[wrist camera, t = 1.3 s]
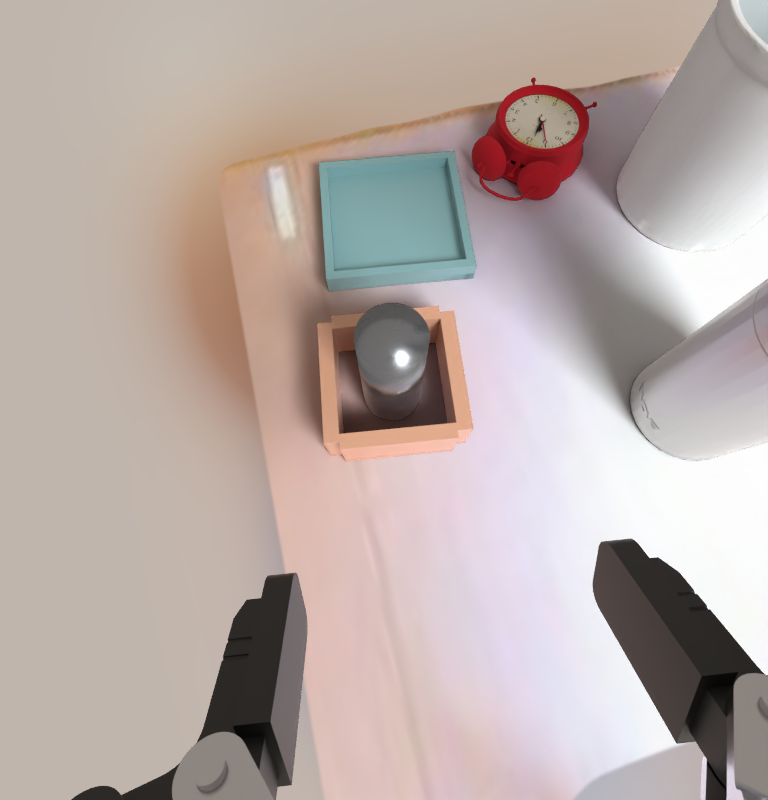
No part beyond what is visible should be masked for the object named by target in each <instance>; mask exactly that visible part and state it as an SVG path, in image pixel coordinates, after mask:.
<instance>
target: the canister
mask: <svg viewBox="0 0 768 800" xmlns="http://www.w3.org/2000/svg"><path fill="white" fill-rule="evenodd" d="M429 341H430V333H429V328H428V326H427V323H426V321H425V320H424V318H423V317H422V316H421V315H420V314H419V313H418V312H417V311H416V310H414V309H413V308H411V307H409V306H406V305H403V304H398V303H385V304H381V305H378V306H375V307H373V308H371V309H369V310H368V311H367V312H366V313H364V314H363V315H362V317H361V318H360V319H359V321H358V322H357V325H356V327H355V330H354V344H355V350H356V355H357V361H358V366H359V372H360V377H361V383H362V389H363V394H364V399H365V403H366V405H367V407H368V408H369V409H370V411H371V412H372V413H373V414H375V415H376V416H378V417H380V418H383V419H386V420H397V419H401V418H404V417H406V416H408V415H409V414H410V413H412V412H413V410H414V409H415V408H416V406H417V404H418V402H419V399H420V393H421V387H422V382H423V376H424V370H425V364H426V359H427V353H428V347H429Z"/></svg>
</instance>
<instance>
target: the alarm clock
mask: <svg viewBox="0 0 768 800" xmlns="http://www.w3.org/2000/svg"><path fill="white" fill-rule="evenodd" d="M535 81H536V80H535V78H532V79H531V82H532V83H533V85H532V86H527V87H523V88H520V89H518V90H516V91H514V92H512V93H511V94H510V95H508V96H507V97H506V98H505V99H504V101H503V102H502V104H501V105H500V107H499V109H498V111H497V114H496V120H495V122H494V123H493V125H492V126H491V127H490V128H489V130H488V132H487V134H486V136H484V137H482V138H480V139H479V140H478V141H477V142H476V143H475V145H474V147H473V150H472V162H473V165H474V168H475V169H476V171H477V173H478V174H479V175H480V183H481V185H482V187H483V188H484V189H485V190H487V191H488V192H490V193H491V194H493V195H495V196H497V197H500V198H503V199H506V200H511V201H517V200H521V199H523V198H524V197H526V198H529V199H533V200H541V199H545V198H548V197H550V196H551V195H553V194H554V193H555V192H556V191H557V189H558V188H559V186H560V183H561V182H562V181H563V180H565V179H567V178H568V177H569V176H571V175H572V174H573V173H574V172H575V170H576V169H577V167H578V166H579V164H580V161H581V159H582V155H583V144H582V143H583V141H584V139H585V137H586V135H587V132H588V128H589V116H588V113H587V109H589V108H591V107H596V106H597V102H594V103H593V104H592V105H590V106H588V107H584V105H583V104H582V103H581V101H580V100H579V99H578V98H576V97H575V96H574V95H572V94H571V93H569V92H567V91H565V90H563V89H560V88H557V87H553V86H548V85H535ZM513 161H514V163H513ZM500 177H503V178H505V179H507V180H509V181H511V182H513V183H516V184H517V185H518V190H519V192H520V193H521V194H522V195H523V196H521V197H518V198H511V197H506V196H503V195H500V194H498V193H496V192H494V191H492V190H490V189H489V188H488V187H486V186H485V184H484V183H483V181H482V178H484V179H486V180H489V181H494V180H496V179H499V178H500Z"/></svg>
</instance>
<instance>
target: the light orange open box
mask: <svg viewBox="0 0 768 800" xmlns="http://www.w3.org/2000/svg"><path fill="white" fill-rule="evenodd" d="M413 309H414V310H416V311H417V312H418V313H419V314H420V315H421V316H422V317H423V318H424V320H425V321H426V323H427V326H428V328H429V333H430V341H429V343H436V349H437V356H438V363H439V370H440V377H441V383H442V390H443V397H444V404H445V411H446V417H447V424H436V425H426V426H416V427H405V428H395V429H385V430H374V431H364V432H354V433H344V428H343V414H342V399H341V384H340V370H339V355H338V352H342V351H352V350H355V344H354V330H355V327H356V325H357V322H358V321H359V319H360V318H361V317H362V315H363V314H364V313H356V314H345V315H334V316H331V320H332V322H328V323H317V329H318V348H319V367H320V386H321V405H322V424H323V443H324V445H325V446H326V448H327V450H328V451H329V453H330V454H331V455H341V454H342V455H343V457H344V459H345V461H352V460H362V459H372V458H382V457H393V456H403V455H413V454H423V453H433V452H444V451H452V449H453V447H454V445H455V444H456V443H464V442H465V441H466V439H467V438H468V436H469V435H470V433H471V431H472V430H473V423H472V417H471V411H470V405H469V399H468V393H467V387H466V381H465V375H464V369H463V363H462V357H461V351H460V345H459V339H458V333H457V327H456V321H455V315H454V311H446V312H439V306H431V307H420V308H413Z"/></svg>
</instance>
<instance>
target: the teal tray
mask: <svg viewBox="0 0 768 800" xmlns="http://www.w3.org/2000/svg"><path fill="white" fill-rule="evenodd" d="M319 173H320V189H321V206H322V222H323V238H324V254H325V270H326V281H327V285H328V289H329V291H338V290H349V289H360V288H371V287H381V286H392V285H403V284H414V283H425V282H436V281H447V280H457V279H468V278H473V275H474V272H475V269H476V261H475V256H474V251H473V245H472V240H471V235H470V230H469V224H468V219H467V214H466V209H465V204H464V198H463V193H462V188H461V183H460V177H459V172H458V167H457V162H456V157H455V151H447V152H436V153H425V154H413V155H402V156H391V157H379V158H368V159H356V160H345V161H334V162H322V163H319Z"/></svg>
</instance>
